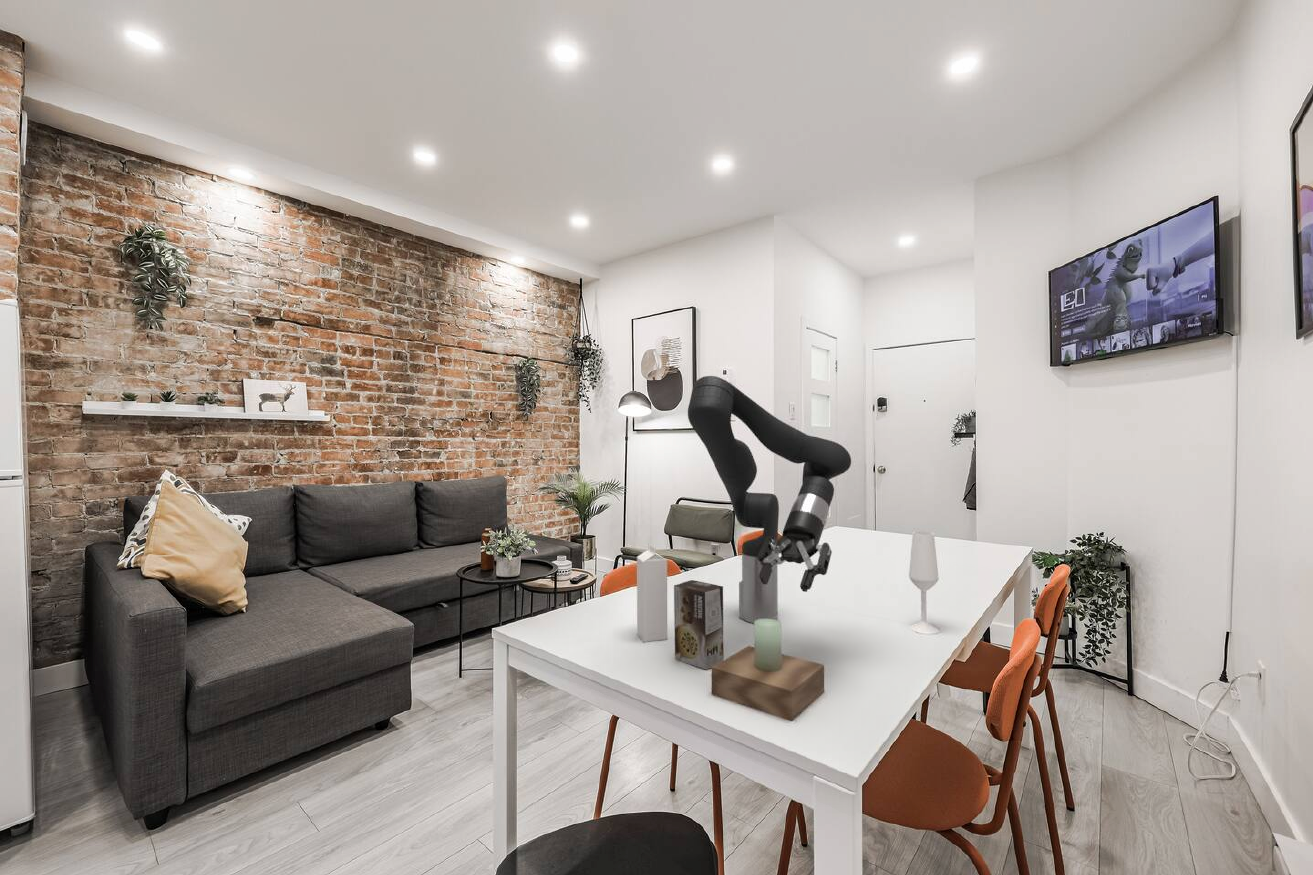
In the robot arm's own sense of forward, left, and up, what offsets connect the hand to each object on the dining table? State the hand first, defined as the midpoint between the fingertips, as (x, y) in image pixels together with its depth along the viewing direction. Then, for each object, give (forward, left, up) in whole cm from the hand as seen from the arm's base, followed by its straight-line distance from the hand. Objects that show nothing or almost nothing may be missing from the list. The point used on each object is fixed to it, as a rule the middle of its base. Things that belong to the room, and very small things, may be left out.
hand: (782, 585), depth 110 cm
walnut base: (0, -7, -19) cm, 20 cm away
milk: (-36, +3, -19) cm, 41 cm away
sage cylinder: (0, -6, -14) cm, 15 cm away
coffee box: (-19, -2, -19) cm, 27 cm away
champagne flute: (+14, +49, -19) cm, 55 cm away
